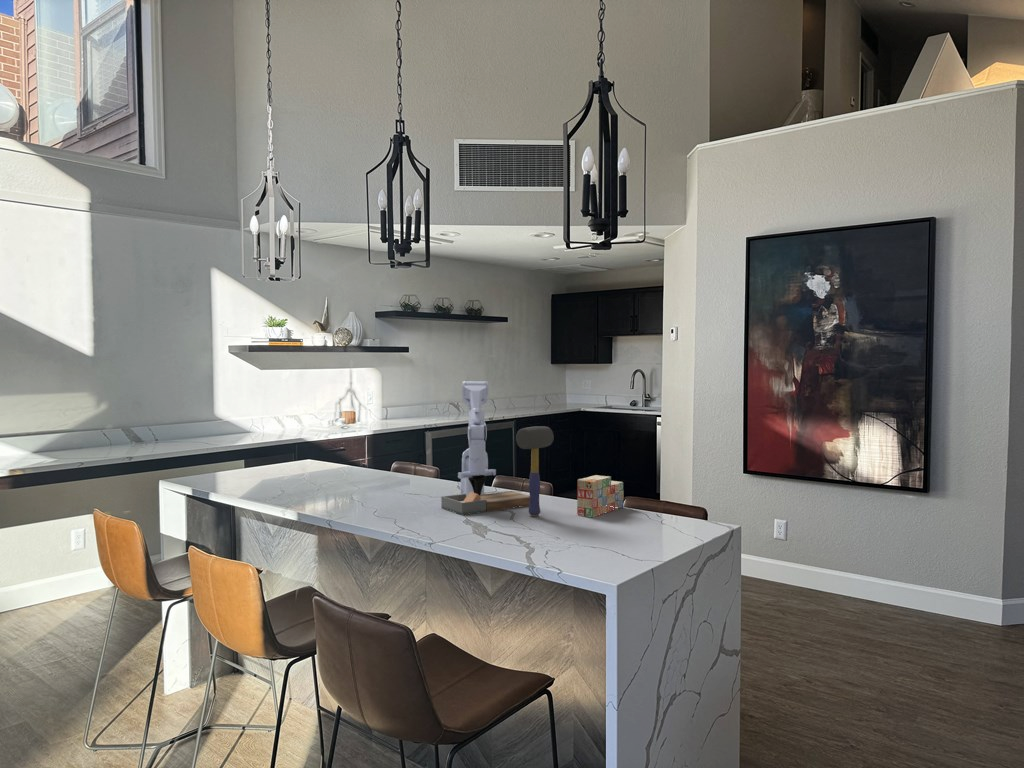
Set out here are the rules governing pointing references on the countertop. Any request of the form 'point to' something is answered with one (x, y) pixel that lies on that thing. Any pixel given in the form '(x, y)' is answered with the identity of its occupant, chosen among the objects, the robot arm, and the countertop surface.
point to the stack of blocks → (598, 495)
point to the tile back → (472, 497)
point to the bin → (462, 504)
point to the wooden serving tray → (505, 500)
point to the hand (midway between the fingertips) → (477, 497)
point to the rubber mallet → (534, 459)
